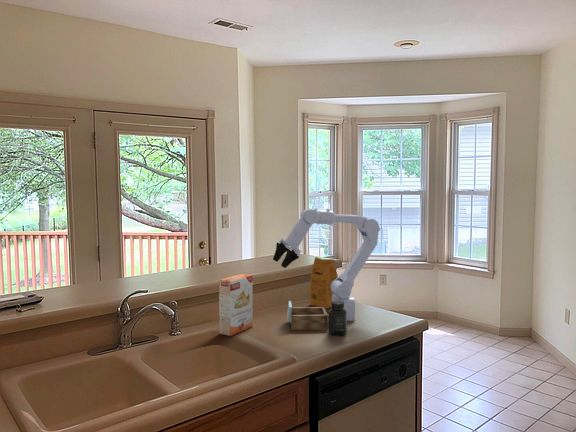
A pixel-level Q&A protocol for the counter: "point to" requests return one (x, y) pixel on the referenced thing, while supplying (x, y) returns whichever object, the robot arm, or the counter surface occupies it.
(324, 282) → the coffee package
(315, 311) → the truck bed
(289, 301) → the panel
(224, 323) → the cracker box
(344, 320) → the supplement bottle
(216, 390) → the counter surface
